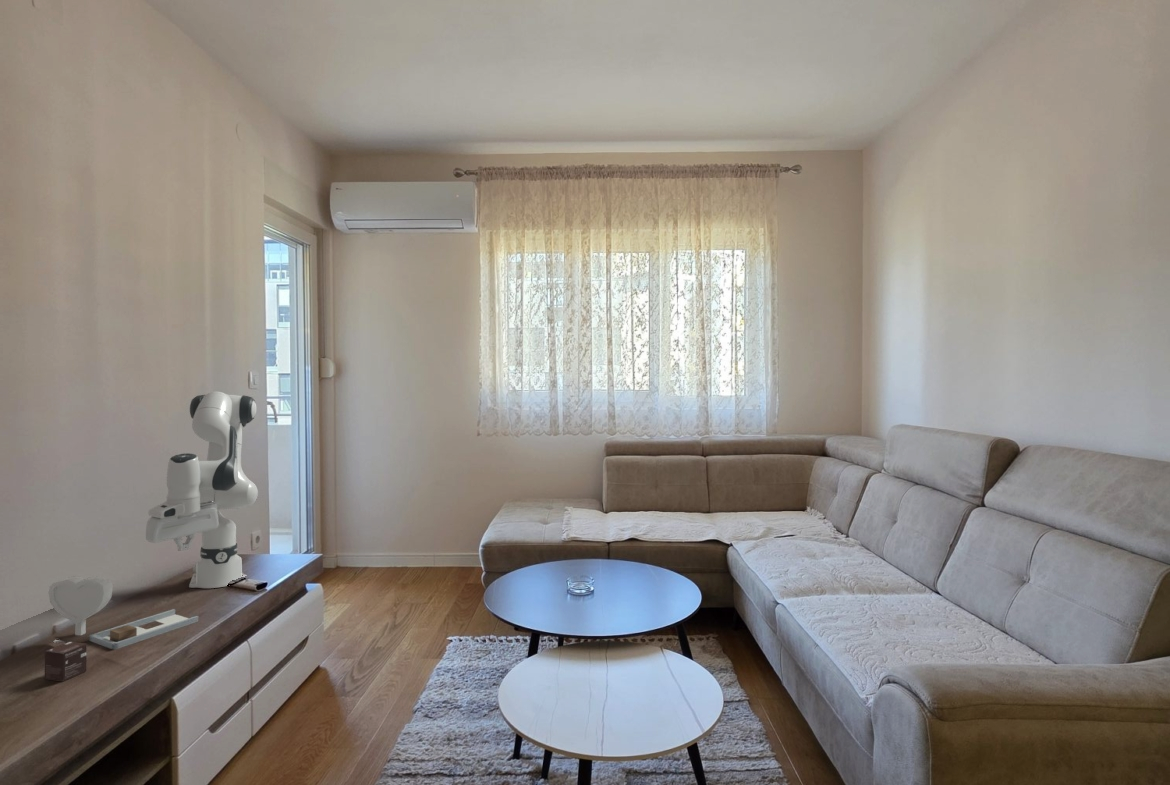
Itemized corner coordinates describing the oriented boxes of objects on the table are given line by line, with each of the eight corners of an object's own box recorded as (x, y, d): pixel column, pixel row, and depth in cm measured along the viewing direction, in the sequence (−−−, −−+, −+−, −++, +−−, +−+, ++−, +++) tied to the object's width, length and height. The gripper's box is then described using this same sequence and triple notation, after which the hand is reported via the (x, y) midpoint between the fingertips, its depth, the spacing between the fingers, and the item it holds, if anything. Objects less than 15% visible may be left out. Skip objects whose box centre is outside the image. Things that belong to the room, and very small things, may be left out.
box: (62, 682, 150) (62, 653, 150) (43, 679, 151) (43, 651, 151) (87, 671, 156) (87, 643, 156) (68, 668, 157) (68, 641, 157)
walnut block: (118, 645, 168) (118, 633, 168) (109, 642, 170) (110, 630, 170) (136, 639, 172) (136, 627, 172) (127, 636, 174) (127, 624, 174)
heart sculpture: (45, 642, 172) (46, 580, 172) (60, 635, 177) (60, 575, 177) (101, 642, 173) (102, 580, 173) (114, 635, 178) (114, 575, 178)
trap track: (113, 655, 165) (114, 644, 165) (88, 645, 171) (88, 635, 171) (198, 626, 186) (198, 616, 186) (173, 618, 192) (173, 609, 192)
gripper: (210, 498, 198) (211, 539, 198) (142, 511, 179) (142, 556, 180) (222, 501, 195) (222, 542, 196) (154, 514, 177) (154, 560, 177)
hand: (184, 549), depth 188 cm, fingers closed
